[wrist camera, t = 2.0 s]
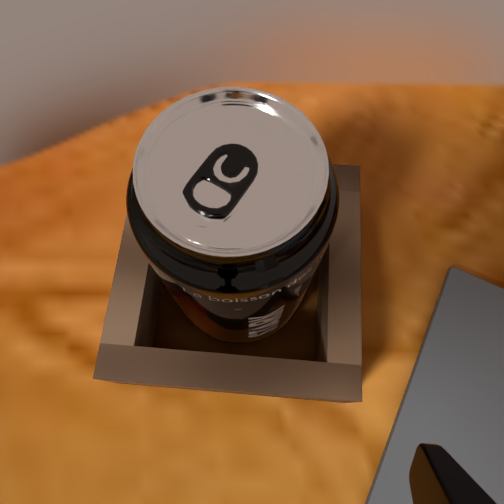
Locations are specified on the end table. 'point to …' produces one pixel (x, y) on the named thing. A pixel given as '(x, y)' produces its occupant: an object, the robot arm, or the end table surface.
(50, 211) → the end table surface
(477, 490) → the robot arm
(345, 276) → the pocket frame
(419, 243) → the end table surface
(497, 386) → the slate mat
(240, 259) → the beverage can
